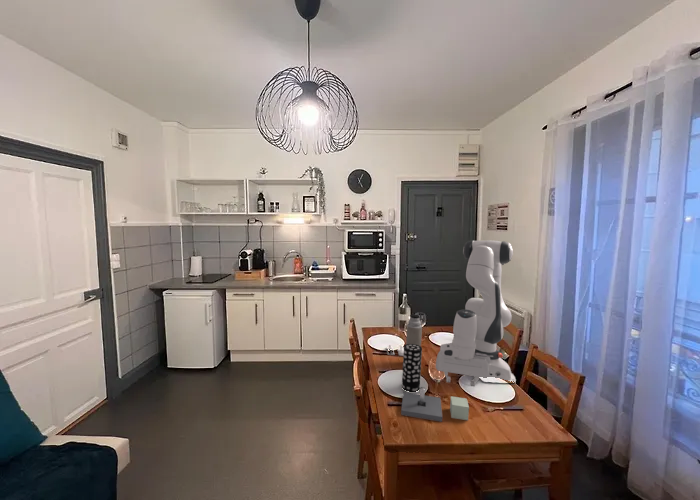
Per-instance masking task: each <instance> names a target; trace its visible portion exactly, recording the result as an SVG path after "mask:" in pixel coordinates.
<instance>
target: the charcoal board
mask: <svg viewBox="0 0 700 500" xmlns="http://www.w3.org/2000/svg"><path fill="white" fill-rule="evenodd" d="M419 398H420V393H419V394H418V393H409V392H406V391H404V392H403V393H402V402H401V412H400V414H401V416H404V417H405V416H406V417H412V418H417V419H423V420H429V421H435V422H440V423H442V422H443V411H442V410H443V409H442V400H441V398H442V397H439V396H438V397H437V396H432V395H431V396H430V395H425V397H424V406H419Z"/></svg>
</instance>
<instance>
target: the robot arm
mask: <svg viewBox="0 0 700 500" xmlns="http://www.w3.org/2000/svg"><path fill="white" fill-rule="evenodd" d="M462 254H463V257H464V259H465V260H466V261H468V262H467V265H466V270H465V271H466V272H465V279H466V281H467V282H468V284H469V285H470V286H471V287H473V289H475V290H477V291H478V292H479V294H480V295H481V297H482V298H480V297H479V298H478V297H471V298H469V299H468V300H467V301H466V303H465V307H464V309H459V310H457V311H456V314H455V317H454V320H453V327H452V329H453V331H452V332H453V333H452V334H453V339H452V342H450V343H443V344H441V345H440V348H439V349H440V350H439V351H438V353H437V355H436V360H435V369H436V370H437V371H438V372H443V373H444V376H445V381H446V383H451V376H449V373H451V374H459V375H462V376H463V375H464V376H471V377H473V376H474V377H473V379H471V380H470V386H471V387H473V388H474V387H476V383H477V382H478V380H479V377H483V378H487V377H495V378H500V379H504V380H508V381H510V382H511V381H512V382H513V381H514V382H515V384H516V381H517V379H516V376H515V375H514V373H512V371H511V370H512V369H511V367H510V365H509V364H508V363H507V361H505V360H503V357H504V356H503V353H501V351H499V350H498V349H497V344H498V343H499V342H501V341H502V340H503V337H504V328H505V327H508V326H509V325H510V323H511V321H512V317H513V315H512V311H511V310H510V309H509V308H508V307H507V305H506V303H505V301H504V298H503V294H502V273H503V271H502V269H503V267H502V266H505V265H506V264H508V263H509V262H511V259H512V258H513V256H514V249H513V245H512V244H511V243H510V242H508V241H504V240H503V241H500V240H493V239H492V240H491V239H486V240H485V239H484V240H481V239H480V240H474V239H473V240H467V242H465V243H464V245H463V250H462ZM514 382H513V383H514Z"/></svg>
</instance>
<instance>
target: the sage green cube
mask: <svg viewBox="0 0 700 500" xmlns="http://www.w3.org/2000/svg"><path fill="white" fill-rule="evenodd" d="M449 403H450V404H449V411H450V418H451V419H456V420H457V419H458V420H464V421H469V414H470V413H469V412H470V411H469V410H470V406H469V402H468V399H467V398H465V397H458V396H451V395H450V402H449Z"/></svg>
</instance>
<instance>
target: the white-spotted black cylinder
mask: <svg viewBox="0 0 700 500" xmlns="http://www.w3.org/2000/svg"><path fill="white" fill-rule="evenodd" d="M403 347H404V354H403V356H402V358H403V359H402V374H401V378H402V380H401V389H402V388H403V389H404V390H406V391H409V392H416V391H418V390H419V389H420V388H421V375H422V373H421V371H422V358H423V357H422V355H423V354H422V353H423V348H422V345H421V346H419V345H416V344H406V343H405V344H404V345H403ZM403 389H402V390H403ZM404 390H403V391H404ZM406 391H405V392H406ZM419 391H420V390H419ZM409 392H408V393H409Z"/></svg>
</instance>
